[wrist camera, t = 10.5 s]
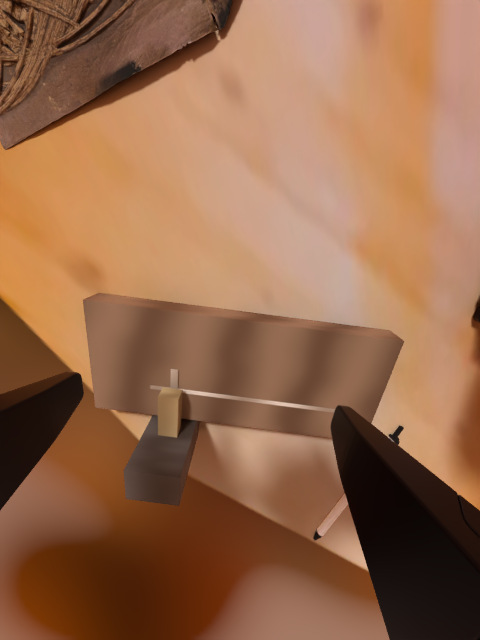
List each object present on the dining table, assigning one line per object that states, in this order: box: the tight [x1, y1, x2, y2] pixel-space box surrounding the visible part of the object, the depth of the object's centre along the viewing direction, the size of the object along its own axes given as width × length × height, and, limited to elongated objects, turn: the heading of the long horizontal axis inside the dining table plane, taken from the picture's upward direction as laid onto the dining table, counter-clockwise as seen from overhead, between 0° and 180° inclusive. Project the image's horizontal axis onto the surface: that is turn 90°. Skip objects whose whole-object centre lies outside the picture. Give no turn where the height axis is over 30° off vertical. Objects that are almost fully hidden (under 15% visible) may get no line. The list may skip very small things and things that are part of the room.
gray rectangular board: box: [83, 293, 404, 438], centre depth 21 cm, size 24×10×2 cm, turn 83°
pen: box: [314, 426, 404, 541], centre depth 26 cm, size 1×19×1 cm, turn 160°
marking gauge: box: [124, 387, 199, 506], centre depth 20 cm, size 4×7×7 cm, turn 173°
